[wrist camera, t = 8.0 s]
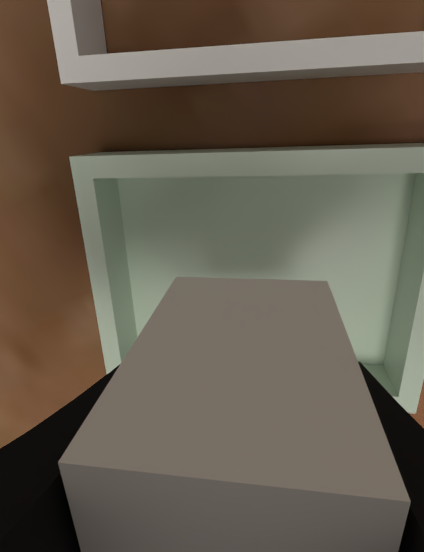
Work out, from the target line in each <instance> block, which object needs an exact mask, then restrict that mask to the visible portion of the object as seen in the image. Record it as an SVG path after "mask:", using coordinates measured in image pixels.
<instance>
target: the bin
mask: <svg viewBox="0 0 424 552" xmlns="http://www.w3.org/2000/svg"><path fill="white" fill-rule="evenodd" d="M47 3H48V9H49V15H50V21H51V27H52V33H53V39H54V45H55V51H56V56H57V62H58V68H59V74H60V80H61V84H64V85H69V86H74V87H78V88H83V89H87V90H92V91H98V90H116V89H134V88H152V87H170V86H188V85H205V84H223V83H241V82H259V81H277V80H295V79H313V78H331V77H349V76H367V75H385V74H403V73H421V72H424V31H418V32H404V33H390V34H376V35H362V36H349V37H335V38H321V39H307V40H293V41H279V42H265V43H251V44H237V45H223V46H209V47H195V48H181V49H167V50H153V51H139V52H125V53H111V54H107V48H106V40H105V32H104V24H103V16H102V8H101V0H47Z"/></svg>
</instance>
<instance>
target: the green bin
mask: <svg viewBox="0 0 424 552" xmlns="http://www.w3.org/2000/svg"><path fill="white" fill-rule="evenodd" d="M69 158H70V164H71V170H72V176H73V182H74V187H75V193H76V199H77V205H78V211H79V216H80V222H81V228H82V234H83V240H84V245H85V251H86V257H87V263H88V268H89V274H90V280H91V286H92V292H93V297H94V303H95V309H96V315H97V321H98V326H99V332H100V338H101V344H102V350H103V355H104V361H105V367H106V373H107V374H108V373H109V372H111V371H112V370H113V369H115V368H116V367H117V366H118V365H120V364H121V362H122V361H123V359H124V358H125V356H126V355H127V353H128V351H129V350H130V348H131V347H132V345H133V344H134V342H135V340H136V339H137V337H138V336H139V334H140V333H141V331H142V329H143V328H144V326H145V325H146V323H147V322H148V320H149V318H150V317H151V315H152V314H153V312H154V311H155V309H156V307H157V306H158V304H159V303H160V301H161V300H162V298H163V296H164V295H165V293H166V292H167V290H168V289H169V287H170V285H171V284H172V282H173V281H174V279H175V278H176V277H203V278H239V279H275V280H312V281H328V284H329V287H330V289H331V292H332V295H333V297H334V300H335V302H336V305H337V308H338V310H339V313H340V316H341V318H342V321H343V324H344V326H345V329H346V332H347V334H348V337H349V339H350V342H351V345H352V347H353V350H354V353H355V355H356V358H357V361H358V362H361V363H362V364H363V366H364V367H365V368H366V369H367V370H368V371H369V372H370V373H371V374H372V375H373V376H374V377H375V378H376V380H377V381H378V382H379V383H380V384H381V385H382V386H383V387H384V388H385V389H386V390H387V391H388V392H389V394H390V395H391V396H392V397H393V398H394V399H395V400H396V401H397V402H398V403H399V404H400V405H401V406H402V407H403V408H404V409H405V410H406V411H407V412H408V413H416V410H417V406H418V402H419V397H420V393H421V388H422V384H423V379H424V143H402V144H367V145H332V146H297V147H262V148H227V149H192V150H158V151H123V152H99V153H92V154H84V155H77V156H70V157H69Z"/></svg>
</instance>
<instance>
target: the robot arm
mask: <svg viewBox="0 0 424 552" xmlns="http://www.w3.org/2000/svg"><path fill="white" fill-rule="evenodd" d="M358 363H359V366H360V369H361V371H362V374H363V377H364V379H365V382H366V384H367V387H368V390H369V392H370V395H371V398H372V400H373V403H374V406H375V408H376V411H377V414H378V416H379V419H380V422H381V424H382V427H383V429H384V432H385V435H386V437H387V440H388V443H389V445H390V448H391V451H392V453H393V456H394V459H395V461H396V464H397V467H398V469H399V472H400V474H401V477H402V480H403V482H404V485H405V488H406V490H407V493H408V496H409V498H410V501H411V503H410V507H409V511H408V515H407V519H406V523H405V527H404V531H403V535H402V539H401V543H400V547H399V551H398V552H424V429H423V428H422V427H421V426H420V425H419V424H418V423H417V422H416V421H415V420H414V419H413V418H412V417H411V416H410V415H409V414H408V412H407V411H406V410H405V409H404V408H403V407H402V406H401V405H400V404H399V403H398V402H397V401H396V400H395V399H394V398H393V397H392V396H391V395H390V394H389V392H388V391H387V390H386V389H385V388H384V387H383V386H382V385H381V384H380V383H379V382H378V381H377V380H376V378H375V377H374V376H373V375H372V374H371V373H370V372H369V371H368V370H367V369H366V368H365V367H364V366H363V364H362V363H361V362H358ZM119 366H120V365H118V366H117V367H116V368H115V369H113V370H112V371H111V372H109V373H108V374H107V375H106V376H104V377H103V378H102V379H100V380H99V381H98V382H96V383H95V384H94V385H93V386H91V387H90V388H89V389H87V390H86V391H85V392H83V393H82V394H81V395H79V396H78V397H77V398H75V399H74V400H73V401H71V402H70V403H68V404H67V405H65V406H64V407H63V408H61V409H60V410H58V411H57V412H55V413H54V414H53V415H51V416H50V417H48V418H47V419H45V420H44V421H43V422H41V423H40V424H38V425H37V426H36V427H34V428H32V429H31V430H29V431H28V432H26V433H25V434H23V435H22V436H20V437H18V438H17V439H15V440H14V441H12V442H11V443H9V444H7V445H6V446H4V447H2V448H1V449H0V552H81V550H80V546H79V542H78V538H77V534H76V530H75V526H74V523H73V519H72V515H71V511H70V507H69V503H68V500H67V496H66V492H65V488H64V484H63V480H62V476H61V473H60V469H59V465H58V461H59V460H60V458H61V457H62V455H63V454H64V452H65V450H66V449H67V447H68V446H69V444H70V443H71V441H72V439H73V438H74V436H75V435H76V433H77V432H78V430H79V428H80V427H81V425H82V424H83V422H84V421H85V419H86V417H87V416H88V414H89V413H90V411H91V410H92V408H93V406H94V405H95V403H96V402H97V400H98V399H99V397H100V395H101V394H102V392H103V391H104V389H105V388H106V386H107V384H108V383H109V381H110V380H111V378H112V377H113V375H114V373H115V372H116V370H117V369H118V367H119Z"/></svg>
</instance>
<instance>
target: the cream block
mask: <svg viewBox="0 0 424 552" xmlns="http://www.w3.org/2000/svg"><path fill="white" fill-rule="evenodd" d="M58 465H59V469H60V473H61V476H62V480H63V484H64V488H65V492H66V496H67V500H68V503H69V507H70V511H71V515H72V519H73V523H74V526H75V530H76V534H77V538H78V542H79V546H80V550H81V552H398V551H399V547H400V543H401V539H402V535H403V531H404V527H405V523H406V519H407V515H408V511H409V507H410V503H411V501H410V498H409V496H408V493H407V490H406V488H405V485H404V482H403V480H402V477H401V474H400V472H399V469H398V467H397V464H396V461H395V459H394V456H393V453H392V451H391V448H390V445H389V443H388V440H387V437H386V435H385V432H384V429H383V427H382V424H381V422H380V419H379V416H378V414H377V411H376V408H375V406H374V403H373V400H372V398H371V395H370V392H369V390H368V387H367V384H366V382H365V379H364V377H363V374H362V371H361V369H360V366H359V363H358V361H357V358H356V355H355V353H354V350H353V347H352V345H351V342H350V339H349V337H348V334H347V332H346V329H345V326H344V324H343V321H342V318H341V316H340V313H339V310H338V308H337V305H336V302H335V300H334V297H333V295H332V292H331V289H330V287H329V284H328V281H312V280H275V279H239V278H203V277H176V278H175V279H174V281H173V282H172V284H171V285H170V287H169V289H168V290H167V292H166V293H165V295H164V296H163V298H162V300H161V301H160V303H159V304H158V306H157V307H156V309H155V311H154V312H153V314H152V315H151V317H150V318H149V320H148V322H147V323H146V325H145V326H144V328H143V329H142V331H141V333H140V334H139V336H138V337H137V339H136V340H135V342H134V344H133V345H132V347H131V348H130V350H129V351H128V353H127V355H126V356H125V358H124V359H123V361H122V362H121V364H120V366H119V367H118V369H117V370H116V372H115V373H114V375H113V377H112V378H111V380H110V381H109V383H108V384H107V386H106V388H105V389H104V391H103V392H102V394H101V395H100V397H99V399H98V400H97V402H96V403H95V405H94V406H93V408H92V410H91V411H90V413H89V414H88V416H87V417H86V419H85V421H84V422H83V424H82V425H81V427H80V428H79V430H78V432H77V433H76V435H75V436H74V438H73V439H72V441H71V443H70V444H69V446H68V447H67V449H66V450H65V452H64V454H63V455H62V457H61V458H60V460H59V461H58Z"/></svg>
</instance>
